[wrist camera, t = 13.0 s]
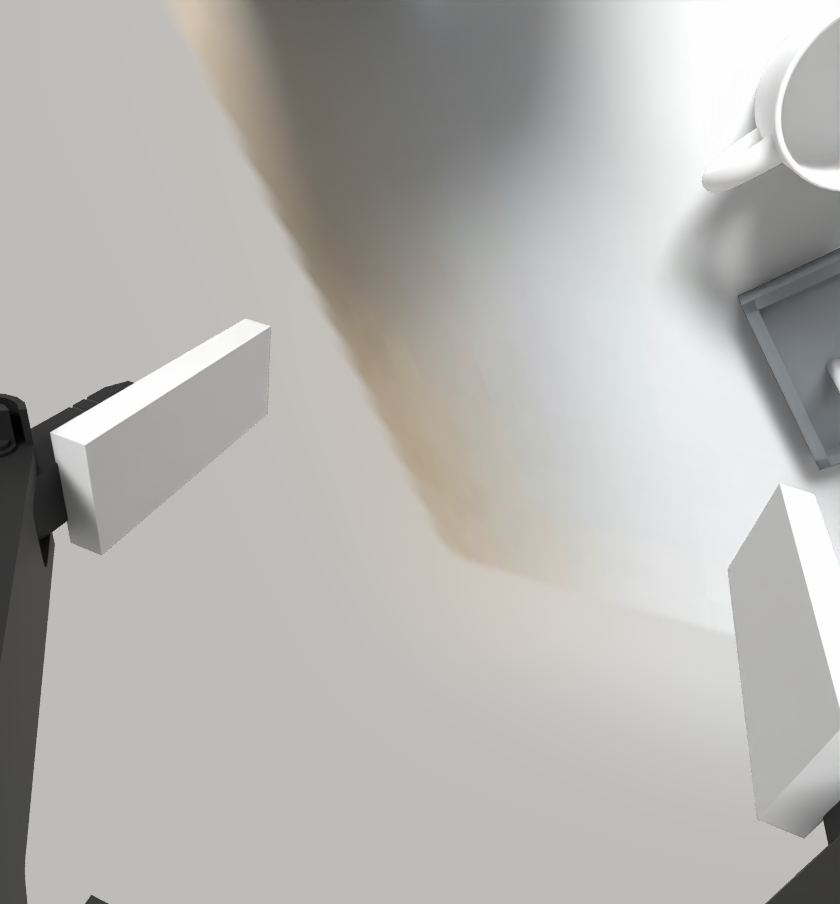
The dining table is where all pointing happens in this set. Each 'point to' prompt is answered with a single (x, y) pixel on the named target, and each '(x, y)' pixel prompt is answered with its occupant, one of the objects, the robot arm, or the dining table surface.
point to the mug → (792, 113)
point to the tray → (804, 347)
